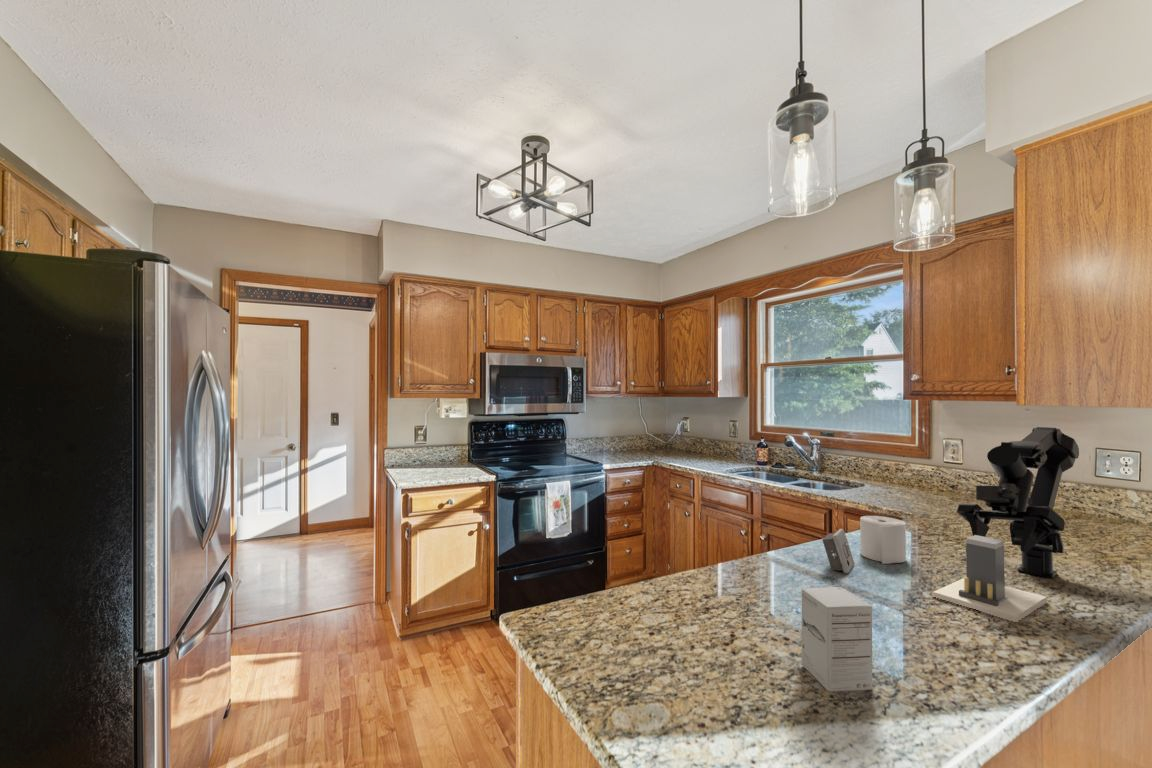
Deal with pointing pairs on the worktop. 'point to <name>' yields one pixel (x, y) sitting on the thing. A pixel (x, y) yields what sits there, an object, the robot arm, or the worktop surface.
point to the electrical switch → (838, 551)
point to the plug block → (986, 565)
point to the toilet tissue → (883, 539)
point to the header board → (992, 600)
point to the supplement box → (837, 638)
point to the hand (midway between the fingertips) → (998, 549)
